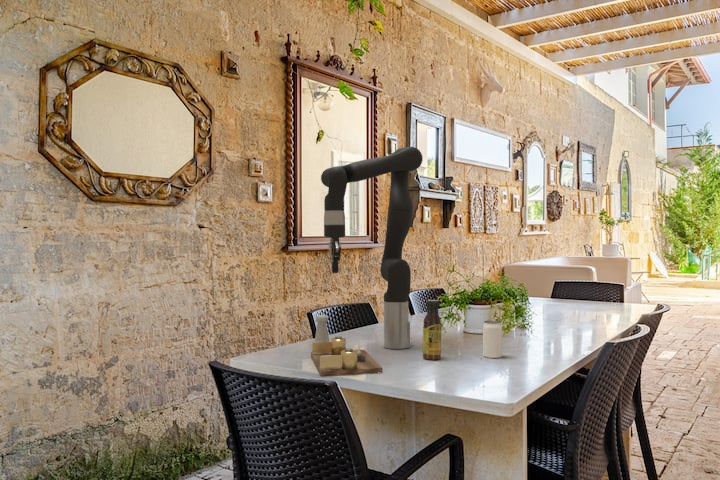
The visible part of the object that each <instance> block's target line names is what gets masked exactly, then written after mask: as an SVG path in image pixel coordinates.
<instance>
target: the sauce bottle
mask: <svg viewBox="0 0 720 480" xmlns="http://www.w3.org/2000/svg"><path fill="white" fill-rule="evenodd" d="M439 303H440V301H439V299H427V300H426V305H427V306H426V315H425V316H424V318H423V326H422V328H423V329H422V358H423V359H424V360H433V361H435V360H440V359H441V357H442V330H443V329H442V327H443V326H442V322H441V318H440V314H439Z"/></svg>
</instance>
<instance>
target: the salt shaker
mask: <svg viewBox="0 0 720 480" xmlns="http://www.w3.org/2000/svg"><path fill="white" fill-rule="evenodd" d="M328 321H329V318H328V315H326V314H325V315H324V314H319V315H317V316H316V317H315V322H316V323H317V325H316V331H315V337H314V342H321V341H322V342H331V340H330V336H329V331H328V327H327V323H328Z"/></svg>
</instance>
